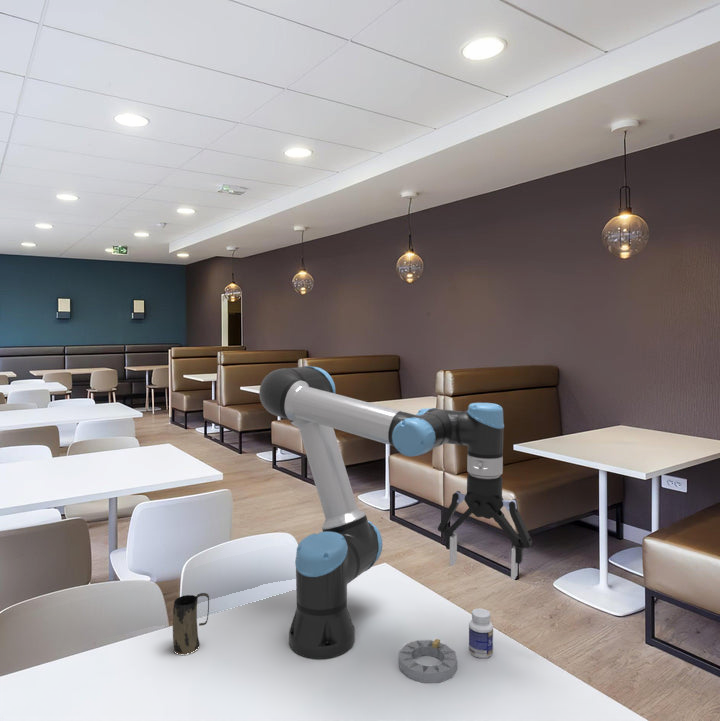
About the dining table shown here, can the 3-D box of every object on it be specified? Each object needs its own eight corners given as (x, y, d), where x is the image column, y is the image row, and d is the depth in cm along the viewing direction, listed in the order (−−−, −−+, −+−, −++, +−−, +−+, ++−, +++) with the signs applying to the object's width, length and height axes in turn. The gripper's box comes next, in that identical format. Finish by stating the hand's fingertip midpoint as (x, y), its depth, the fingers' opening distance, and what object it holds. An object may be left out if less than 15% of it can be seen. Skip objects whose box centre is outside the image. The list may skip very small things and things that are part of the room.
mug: (171, 656, 120) (170, 603, 119) (174, 643, 125) (173, 591, 125) (209, 652, 122) (208, 599, 121) (210, 638, 127) (209, 588, 127)
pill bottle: (493, 660, 118) (493, 619, 118) (468, 657, 119) (468, 617, 119) (492, 646, 124) (492, 608, 123) (468, 644, 125) (468, 605, 124)
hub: (389, 671, 114) (389, 658, 114) (413, 643, 125) (413, 631, 125) (444, 689, 108) (444, 675, 108) (464, 658, 119) (464, 646, 119)
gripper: (424, 470, 122) (423, 564, 123) (540, 486, 110) (538, 590, 111) (436, 464, 128) (435, 552, 129) (547, 478, 117) (544, 575, 118)
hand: (482, 570), depth 120 cm, fingers open, 13 cm apart
